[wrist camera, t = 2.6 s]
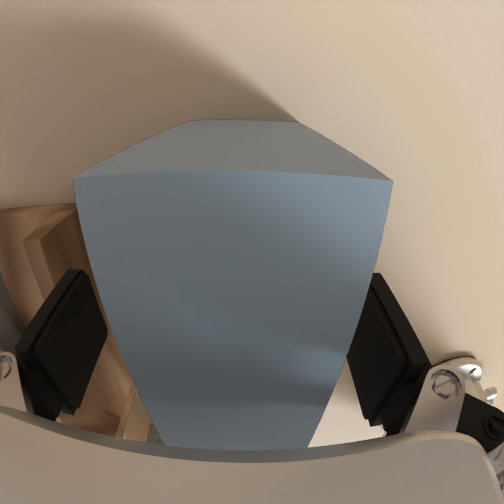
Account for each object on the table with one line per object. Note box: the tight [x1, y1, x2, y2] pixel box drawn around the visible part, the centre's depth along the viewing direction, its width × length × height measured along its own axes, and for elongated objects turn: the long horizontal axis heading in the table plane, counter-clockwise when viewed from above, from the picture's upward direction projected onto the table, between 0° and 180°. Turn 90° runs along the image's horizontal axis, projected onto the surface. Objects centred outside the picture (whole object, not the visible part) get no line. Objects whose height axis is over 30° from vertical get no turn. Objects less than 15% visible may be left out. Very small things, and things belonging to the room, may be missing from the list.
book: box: [72, 120, 393, 450], centre depth 11 cm, size 5×12×10 cm, turn 179°
